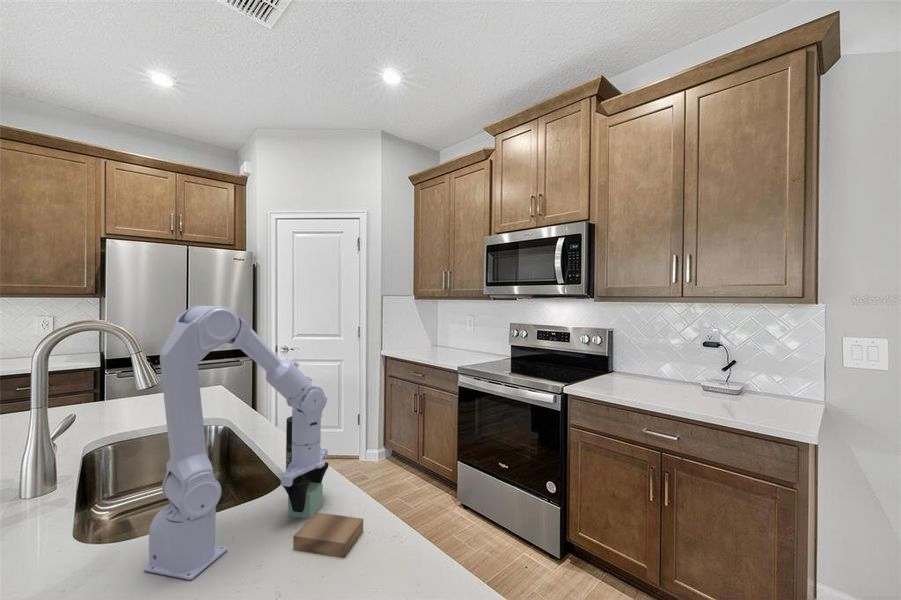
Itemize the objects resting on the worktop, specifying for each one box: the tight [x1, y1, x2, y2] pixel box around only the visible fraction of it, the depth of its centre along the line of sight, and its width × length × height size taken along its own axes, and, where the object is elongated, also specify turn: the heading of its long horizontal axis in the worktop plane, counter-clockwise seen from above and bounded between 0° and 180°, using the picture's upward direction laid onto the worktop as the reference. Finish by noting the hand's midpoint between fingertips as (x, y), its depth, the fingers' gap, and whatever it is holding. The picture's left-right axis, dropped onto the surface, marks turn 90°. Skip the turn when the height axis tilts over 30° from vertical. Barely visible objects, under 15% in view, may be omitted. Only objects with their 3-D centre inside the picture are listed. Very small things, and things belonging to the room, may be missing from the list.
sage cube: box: [287, 482, 324, 520], centre depth 86 cm, size 5×5×5 cm
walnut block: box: [292, 511, 364, 559], centre depth 76 cm, size 10×8×3 cm
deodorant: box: [285, 415, 305, 479], centre depth 100 cm, size 6×6×15 cm
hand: (305, 504), depth 86 cm, fingers closed on sage cube, 5 cm apart
